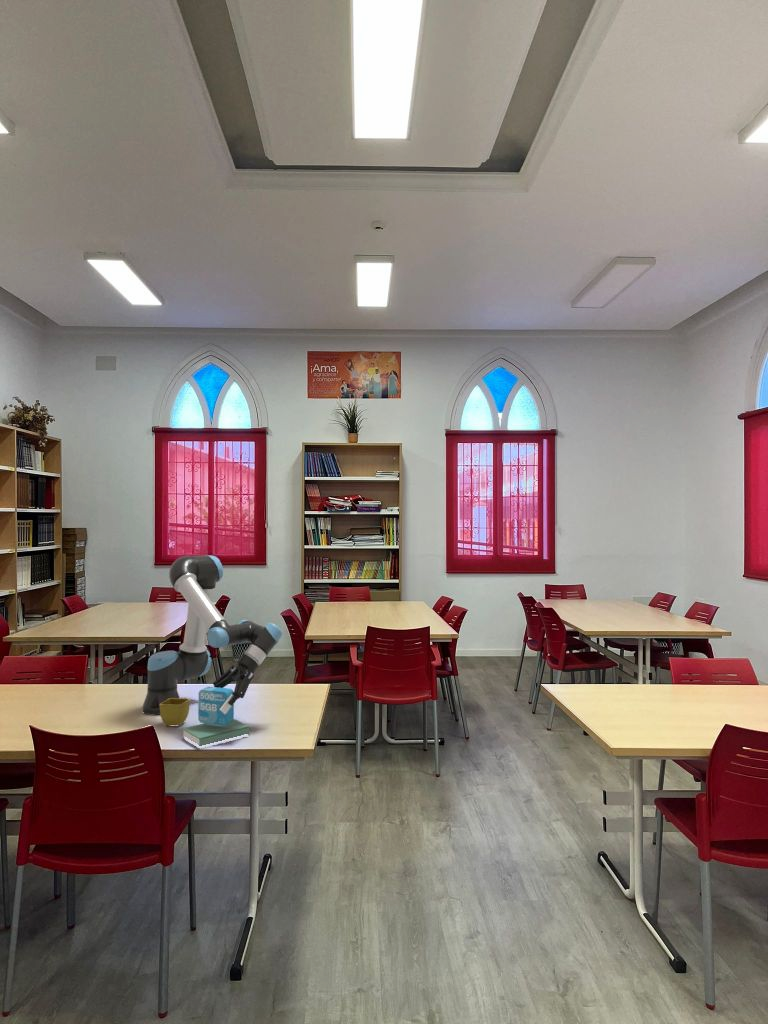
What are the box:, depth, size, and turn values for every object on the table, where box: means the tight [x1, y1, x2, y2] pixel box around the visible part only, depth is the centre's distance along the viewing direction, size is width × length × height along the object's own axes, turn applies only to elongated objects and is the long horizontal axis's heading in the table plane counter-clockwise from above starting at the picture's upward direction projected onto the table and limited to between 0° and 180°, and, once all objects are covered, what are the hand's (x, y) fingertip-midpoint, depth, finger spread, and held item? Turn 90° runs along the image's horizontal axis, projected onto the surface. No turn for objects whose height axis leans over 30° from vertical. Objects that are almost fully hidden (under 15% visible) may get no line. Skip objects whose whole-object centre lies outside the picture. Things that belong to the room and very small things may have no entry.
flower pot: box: [159, 698, 191, 726], centre depth 233 cm, size 9×9×9 cm
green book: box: [182, 718, 250, 746], centre depth 218 cm, size 14×19×4 cm
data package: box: [197, 686, 235, 725], centre depth 219 cm, size 12×4×12 cm, turn 73°
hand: (213, 708), depth 218 cm, fingers closed on data package, 12 cm apart
